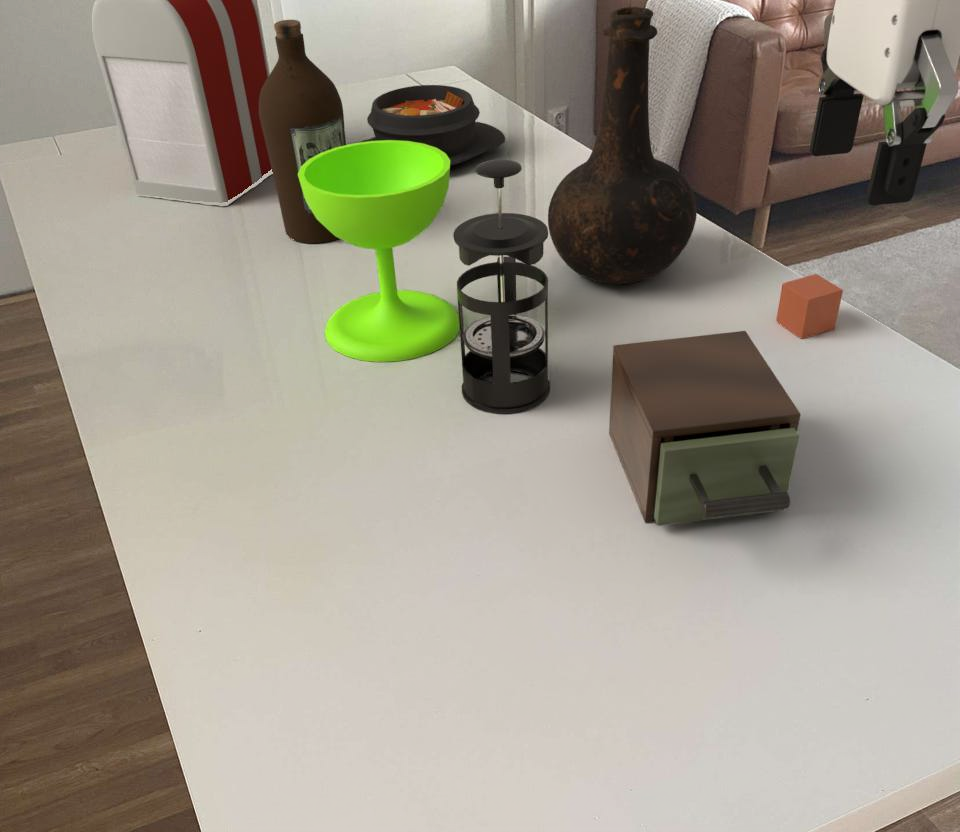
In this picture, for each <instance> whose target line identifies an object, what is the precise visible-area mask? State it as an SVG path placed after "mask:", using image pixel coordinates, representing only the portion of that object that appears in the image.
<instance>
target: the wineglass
mask: <svg viewBox="0 0 960 832" xmlns="http://www.w3.org/2000/svg"><path fill="white" fill-rule="evenodd" d="M359 142H360V143H358V142H355V143H348V144H346V145H344V146H340V147H336V148H333V149H330V150H327V151H325V152H322V153H319V154H318V155H316V156H314V157H312V158H310V159H309V160H307V161H306V162H305V163H304V164H303V165H302V166H301V167H300V169H299V172H298V178H299V181H300V184H301V188H302V191H303V194H304V197H305V200H306V202H307V204H308V206H309V207H310V209H311V211H312V212H313V214H314V216H315V217H316V219H317V220H318V221H319V222H320V223H321V224H322V225H324V226H325V227H326V228H327V229H328V230H329V231H330V232H331V233H332V234H333V235H334V236H336V237H337V238H339V239H340V240H341V241H344V242H345V243H349V244H350V245H353V246H354V247H357V248H361V249H368V250H374V251H375V260H376V267H377V276H378V283H379V292H373V293H369V294H366V295H362V296H359V297H357V298H354V299H353V300H352V299H351V300H350V301H348V302H346V303H345V304H343V305H342V306H341V307H339V308H338V309H336V310H335V311H334V312H333V313H332V314H331V316H330V317H329V319H328V320H327V322H326V326H325V330H324V337H325V340H326V343H327V344H328V345H329V346H330V347H331V349H332V350H334V351H335V352H337V353H339V354H341V355H343V356H345V357H347V358H351V359H355V360H359V361H365V362H374V363H376V362H377V363H386V362H387V363H389V362H391V363H392V362H400V361H407V360H413V359H417V358H420V357H424V356H427V355H430V354H433V353H435V352H436V351H438V350H440V349H442V348H444V347H446V346H447V345H448V344H449V343H451V342H452V341H453V340H454V339H456V337H457V335H458V334H459V333H460V326H459V312H458V311H457V310H456V308H455V307H454V305H453V306H452V304H451V303H449V302H448V301H447V300H445V299H443V298H441V297H439V296H437V295H435V294H432V293H428V292H424V291H418V290H406V289H399V290H398V288H397V278H396V269H395V260H394V250H393V248H396V247H400V246H403V245H404V244H407V243H409V242H411V241H413V240H414V239H415V238H417V237H418V236H419V235H420V234H421V233H423V232H424V231H425V230H427V229H428V228H429V227H430V226H431V224H432V223H433V221H434V220H435V218H436V217H437V215H438V214H439V212H440V211H441V209H442V208H443V206H444V203H445V199H446V197H447V194H448V191H449V186H450V173H451V172H450V171H451V166H450V159H449V158H448V156H447V155H446V153H444V152H443V151H441V150H439V149H438V148H436V147H433V146H429V145H426V144H423V143H417V142H411V141H397V140H382V141H367V142H361V141H359Z"/></svg>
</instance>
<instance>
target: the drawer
mask: <svg viewBox="0 0 960 832" xmlns="http://www.w3.org/2000/svg"><path fill="white" fill-rule="evenodd" d="M779 426H780V424H777V425H768V426H759V427H751V428H742V429H734V430H725V431H716V432H708V433H699V434H691V435H682V436H674V437H665V438H661V447H660V458H659V469H658V479H657V490H656V502H655V513H654V519H655V521H656V522H655V523H656V526H657V527H659V526H666V525H667V526H668V525H675V524H682V523H683V524H684V523H691V522H699V521H708V520H714V519H716V520H717V519H724V518H731V517H739V516H748V515H756V514H757V515H758V514H763V513H764V514H765V513H773V512H782V511H784V510H788V509H789V508H790V506H791V497H790V494H789V486H790V482H791V479H792V478H791V477H792V473H793V468H794V463H795V458H796V453H797V450H798V449H797V448H798V444H799V439H800V434H799V433H798V430H797V431H796V430H795V428H787V429H779Z"/></svg>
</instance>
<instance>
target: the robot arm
mask: <svg viewBox="0 0 960 832" xmlns="http://www.w3.org/2000/svg"><path fill="white" fill-rule="evenodd" d="M823 47H824V48H823V50H822V52H821V56H820V62H821V66H822V74H823V75H822V76H821V78H820V79H819V82H818V88H817V89H818V94H819V95H820V96H819V97H818V102H817V108H816V113H815V118H814V124H813V130H812V134H811V139H810V144H809V153H810V154H811V155H812V156H814V157H824V156H833V155H844V154H849V153H850V152H852V150H853V147H854V143H855V138H856V133H857V130H858V129H857V128H858V124H859V121H860V120H859V119H860V114H861V110H862V105H863V100H864V97H866V98H867V99H869V100H870V101H872V102H873V103H875V104H877V105H879V106H882V113H883V122H884V123H883V125H884V133H885V141H879V142H878V144H877V149H876V152H875V156H874V160H873V165H872V168H871V169H872V170H871V174H870V178H869V183H868V186H867V191H866V195H865V201H866V203H868V204H869V205H870V206H884V205H892V204H901V203H908V202H910V201H911V200H912V199H913V197H914V194H915V190H916V186H917V183H918V179H919V175H920V171H921V167H922V164H923V160H924V156H925V152H926V149H927V144H930V143H932V142H933V140H934V137H935V134H936V133H935V132H936V131H937V130H938V129H939V128H941V126H942V125H943V123H944V120H945V118H946V114H947V112H948V110H949V108H950V107H951V105H952V103H953V102H954V100H955V98H956V97H957V95H958V92H959V86H960V85H959V82H958V79H957V77H956V76H957V75H956V72H957V69H958V64H959V60H960V0H835V1H834V6H833V11H832V12H830V13H829V14H827V15H826V16H825V18H824V22H823ZM899 89H910V90H899ZM898 90H899V91H898ZM858 92H859V93H858ZM908 107H914V109H913V110H912V111H911V112H910V113H909V114H908V116H906V117H905V119H903V120H902V110H901V108H908Z"/></svg>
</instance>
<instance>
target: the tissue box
mask: <svg viewBox="0 0 960 832" xmlns="http://www.w3.org/2000/svg"><path fill="white" fill-rule="evenodd" d="M257 9H258V8H257V6H256V4H255V1H254V0H95V1H94V4H93V6H92V14H91V29H92V31H91V33H92V38H93V44H94V47H95V52H96V55H97V59H98V64H99V66H100V69H101V73H102V77H103V81H104V84H105V87H106V90H107V94H108V97H109V101H110V105H111V108H112V110H113V111H112V112H113V115H114V119H115V122H116V126H117V129H118V132H119V133H118V134H119V136H120V140H121V143H122V147H123V150H124V154H125V157H126V161H127V165H128V169H129V172H130V176H131V179H132V182H133V186H134V190H135V192H136V195H137V194H140V195H148V196H149V195H150V196H159V197H166V198H174V199H175V198H176V199H181V200H190V201H191V200H192V201H203V202H219V203H223V202H228V200H230V199H232V198H233V197H235V196H237V195H238V194H240V193H242V192H243V191H244V190H245V189H247V188H248V187H249V186H251V185H252V184H254V183H255V182H257V181H258V180H259V179H260V178H262V176H263V175H264V174H266V173H268V171H270V170H271V169H272V168H271V164H270V159H269V155H268V151H267V147H266V143H265V138H264V134H263V130H262V126H261V122H260V117H259V97H260V92H261V89H262V87H263V85H264V83H265V82H266V80H267V78H268V77H269V75H270V73H269V67H268V61H267V55H266V49H265V45H264V38H263V33H262V28H261V27H262V26H261V22H260V17H259V14H258V13H259V12H258V10H257Z"/></svg>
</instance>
